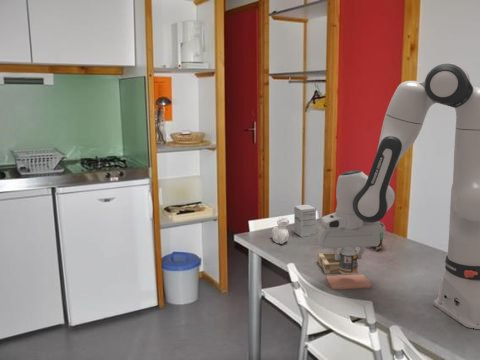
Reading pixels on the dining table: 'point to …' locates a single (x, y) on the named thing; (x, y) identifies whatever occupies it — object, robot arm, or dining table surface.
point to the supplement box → (305, 220)
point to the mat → (348, 281)
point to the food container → (381, 231)
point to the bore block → (329, 263)
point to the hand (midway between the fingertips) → (348, 259)
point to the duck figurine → (280, 231)
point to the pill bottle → (348, 260)
